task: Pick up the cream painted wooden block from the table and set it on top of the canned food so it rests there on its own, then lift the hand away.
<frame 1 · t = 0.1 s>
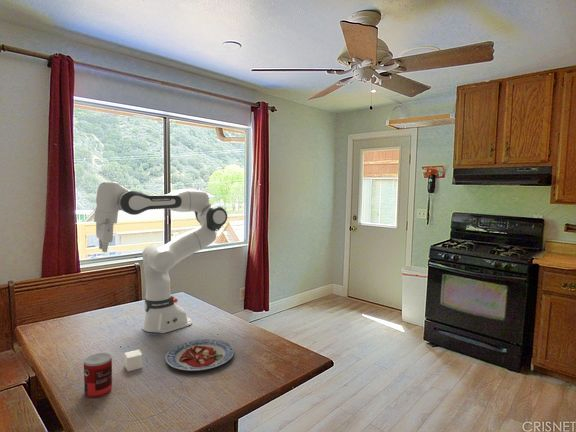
hand: (102, 250, 149), 39 cm above the table, tool pointing down, fingers open, 8 cm apart
cream block: (133, 366, 127), on the table
canned food: (98, 392, 111), on the table
ceramic plate: (200, 359, 135), on the table
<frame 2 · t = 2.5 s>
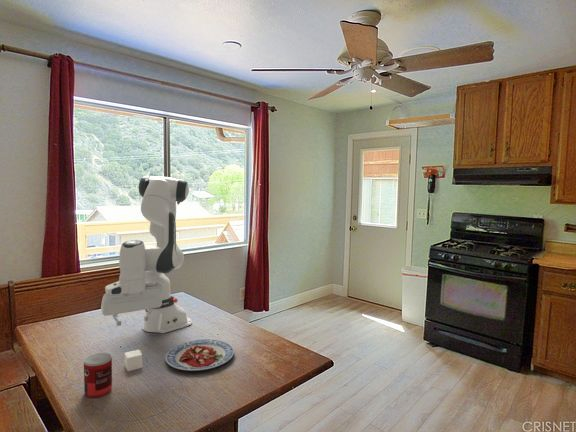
hand: (132, 322, 126), 17 cm above the table, tool pointing down, fingers open, 8 cm apart
nothing on the table moved.
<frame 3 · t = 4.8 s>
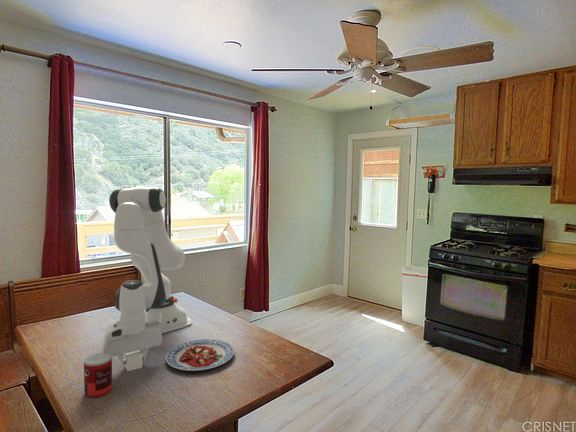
hand: (133, 362, 127), 2 cm above the table, tool pointing down, fingers closed on cream block, 5 cm apart
cream block: (133, 366, 127), on the table, touching gripper
everything else where it was.
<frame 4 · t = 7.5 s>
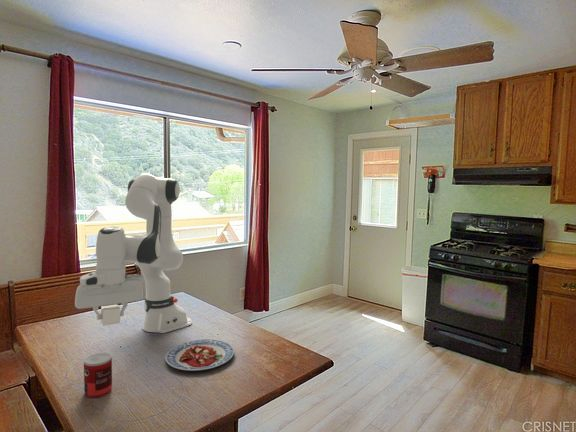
hand: (110, 317, 115), 22 cm above the table, tool pointing down, fingers closed on cream block, 5 cm apart
cream block: (110, 322, 115), point 21 cm above the table, touching gripper
everything else where it was.
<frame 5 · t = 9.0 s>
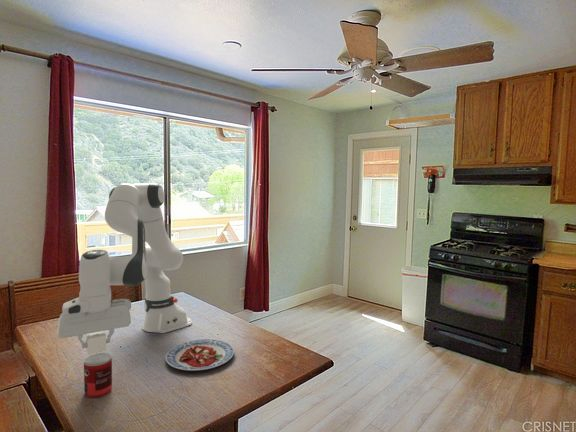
hand: (96, 344, 110), 16 cm above the table, tool pointing down, fingers closed on cream block, 5 cm apart
cream block: (96, 349, 110), point 14 cm above the table, touching gripper
everything else where it was.
when the fingers open (14 cm above the table, at t = 10.1 s): cream block drops 1 cm, resting on canned food.
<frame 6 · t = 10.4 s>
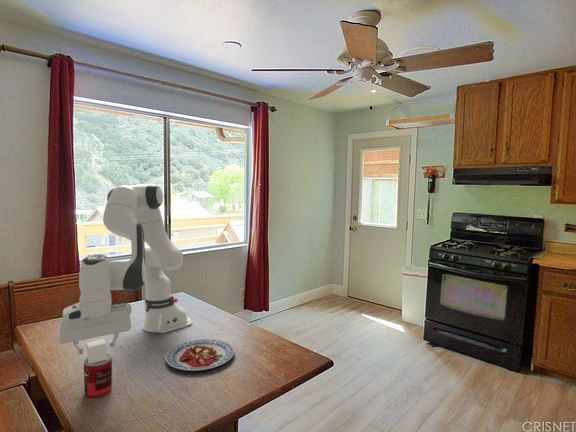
hand: (96, 349, 110), 14 cm above the table, tool pointing down, fingers open, 8 cm apart
cream block: (96, 358, 110), point 11 cm above the table, touching canned food
canned food: (98, 392, 111), on the table, touching cream block
everything else where it was.
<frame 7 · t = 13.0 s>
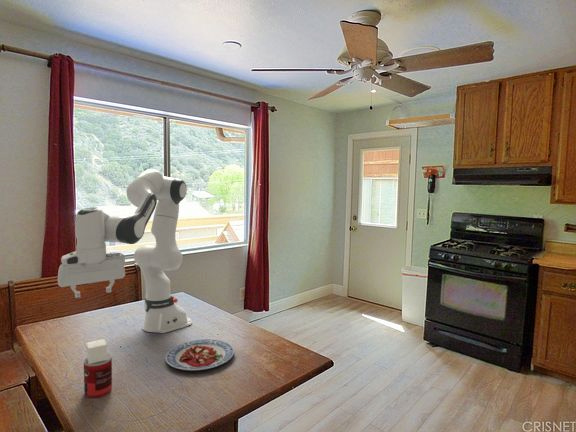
hand: (93, 294, 119), 29 cm above the table, tool pointing down, fingers open, 8 cm apart
nothing on the table moved.
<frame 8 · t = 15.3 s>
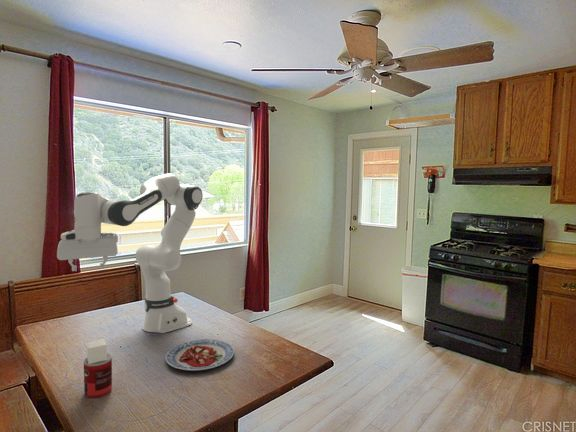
hand: (88, 269, 133), 34 cm above the table, tool pointing down, fingers open, 8 cm apart
nothing on the table moved.
at the end: cream block 0.4 cm off-centre on the canned food, point 11.2 cm above the canned food's base; cream block touching canned food; canned food tilted 0° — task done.
